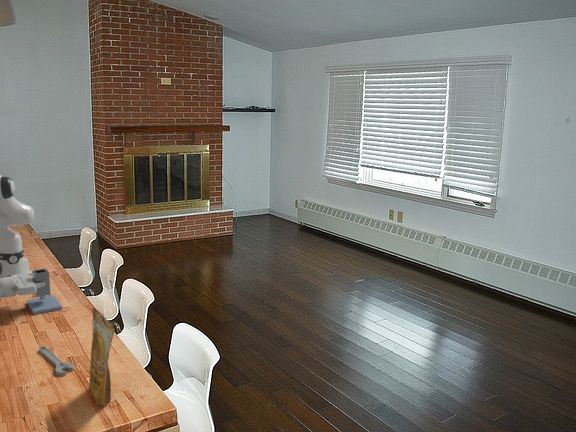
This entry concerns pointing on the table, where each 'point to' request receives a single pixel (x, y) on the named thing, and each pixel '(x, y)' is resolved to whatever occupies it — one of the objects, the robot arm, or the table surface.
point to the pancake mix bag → (100, 359)
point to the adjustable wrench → (56, 361)
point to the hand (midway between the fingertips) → (43, 281)
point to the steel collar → (42, 276)
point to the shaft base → (44, 304)
